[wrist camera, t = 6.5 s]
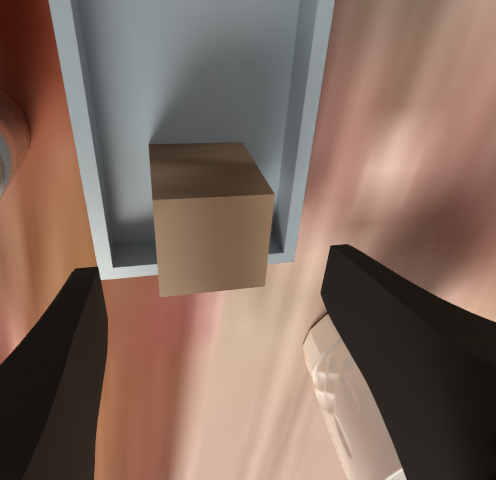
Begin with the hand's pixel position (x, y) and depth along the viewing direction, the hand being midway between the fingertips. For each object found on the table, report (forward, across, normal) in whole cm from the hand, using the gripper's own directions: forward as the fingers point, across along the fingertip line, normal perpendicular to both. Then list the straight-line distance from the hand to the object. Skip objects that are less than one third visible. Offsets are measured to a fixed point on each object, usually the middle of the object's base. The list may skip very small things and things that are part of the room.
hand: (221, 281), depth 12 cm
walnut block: (+7, 0, 0) cm, 7 cm away
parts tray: (+7, 0, -4) cm, 8 cm away
